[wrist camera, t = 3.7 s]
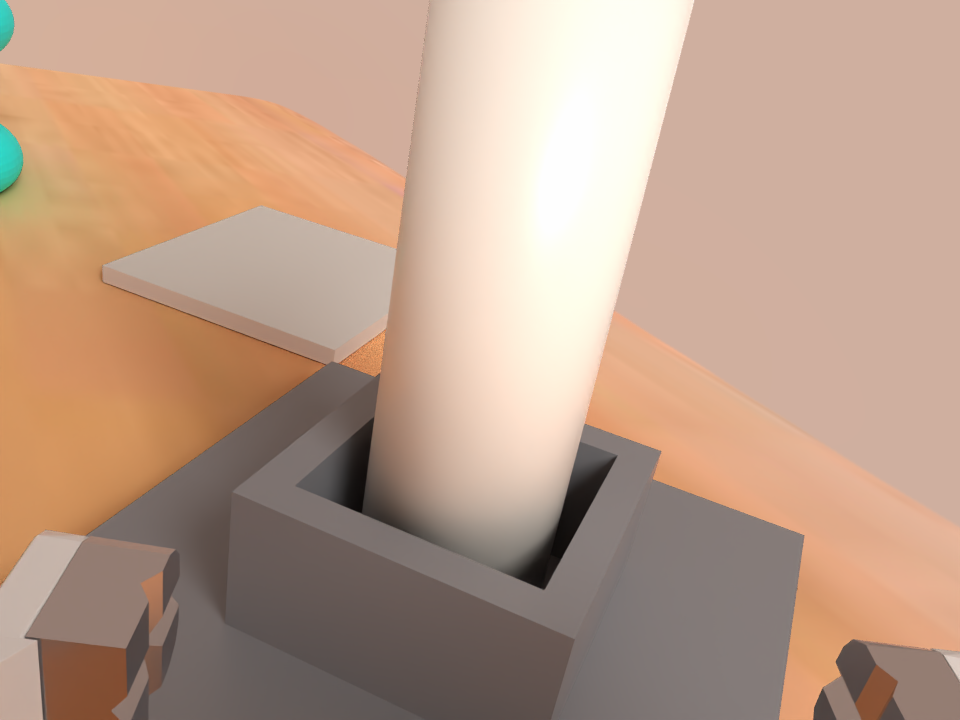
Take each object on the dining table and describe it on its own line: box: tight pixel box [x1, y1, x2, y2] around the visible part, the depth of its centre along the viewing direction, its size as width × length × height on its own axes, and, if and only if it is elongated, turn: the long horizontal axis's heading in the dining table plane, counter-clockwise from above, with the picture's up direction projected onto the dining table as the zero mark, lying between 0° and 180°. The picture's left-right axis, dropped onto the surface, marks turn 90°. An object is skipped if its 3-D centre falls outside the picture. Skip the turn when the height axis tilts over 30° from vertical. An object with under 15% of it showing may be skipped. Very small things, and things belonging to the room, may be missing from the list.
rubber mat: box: [102, 206, 397, 365], centre depth 43 cm, size 12×12×1 cm
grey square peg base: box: [86, 361, 804, 720], centre depth 24 cm, size 18×18×6 cm
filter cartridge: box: [362, 0, 694, 589], centre depth 20 cm, size 5×5×18 cm
